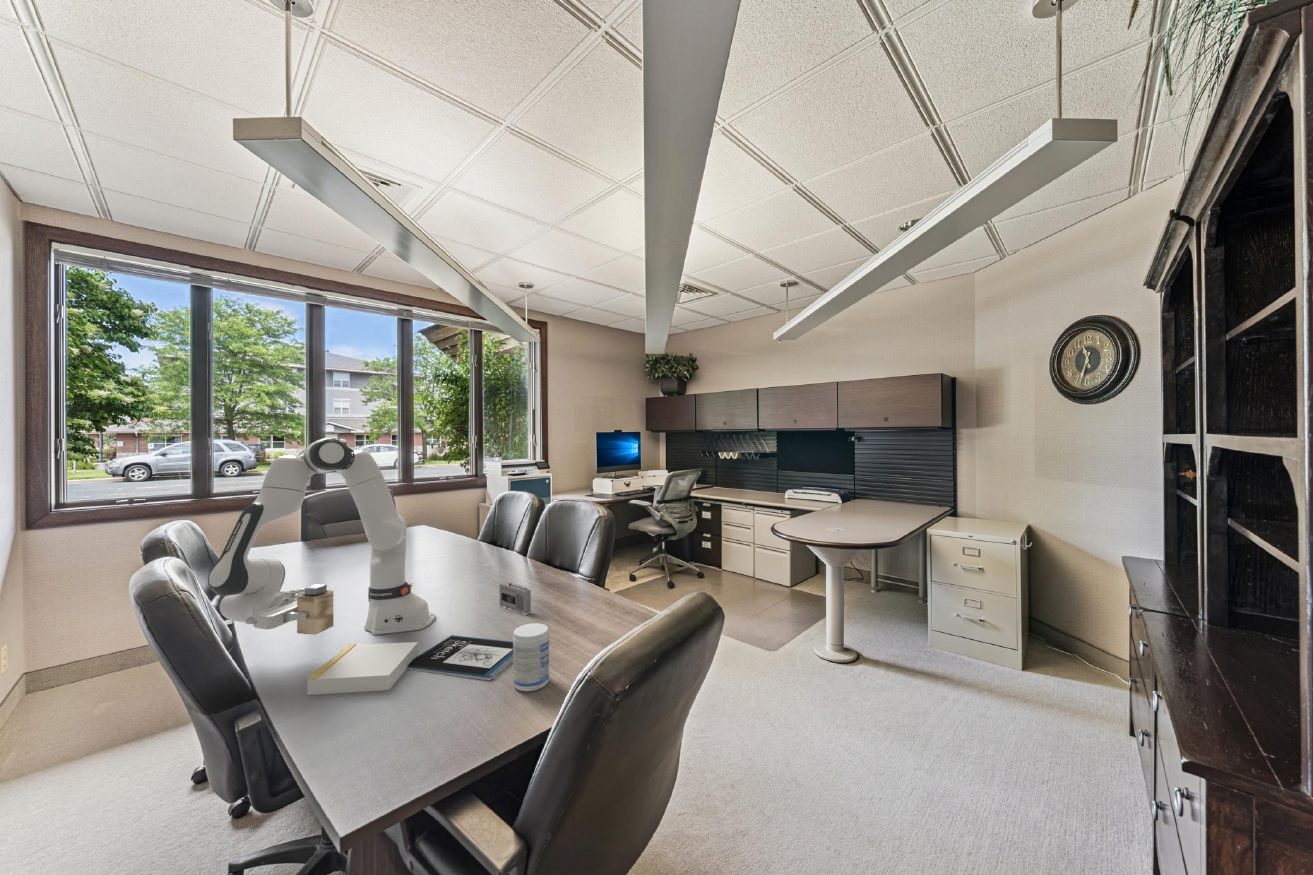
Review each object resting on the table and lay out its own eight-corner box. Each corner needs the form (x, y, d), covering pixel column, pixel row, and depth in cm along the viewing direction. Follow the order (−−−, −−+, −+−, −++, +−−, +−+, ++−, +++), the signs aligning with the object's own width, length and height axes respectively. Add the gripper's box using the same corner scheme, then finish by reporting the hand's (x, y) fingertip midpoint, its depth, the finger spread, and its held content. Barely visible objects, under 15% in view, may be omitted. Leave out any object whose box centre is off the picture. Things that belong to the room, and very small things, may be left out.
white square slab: (418, 654, 143) (418, 640, 143) (389, 690, 123) (389, 673, 123) (348, 658, 141) (348, 644, 141) (307, 695, 121) (307, 678, 121)
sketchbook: (451, 639, 156) (451, 633, 156) (532, 648, 148) (532, 642, 148) (401, 670, 135) (401, 662, 135) (493, 683, 128) (493, 675, 128)
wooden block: (315, 624, 138) (315, 589, 138) (333, 626, 137) (333, 590, 137) (297, 633, 132) (297, 596, 132) (315, 634, 131) (315, 597, 131)
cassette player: (499, 606, 184) (499, 581, 184) (505, 604, 186) (505, 579, 186) (524, 615, 175) (524, 589, 175) (530, 613, 177) (530, 587, 177)
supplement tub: (549, 690, 123) (549, 635, 123) (511, 695, 121) (511, 638, 121) (549, 672, 132) (549, 621, 132) (514, 676, 130) (514, 624, 130)
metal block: (315, 596, 136) (315, 583, 136) (326, 596, 136) (326, 584, 136) (304, 600, 133) (304, 587, 133) (315, 601, 132) (315, 588, 132)
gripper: (240, 610, 126) (284, 613, 124) (307, 586, 146) (346, 588, 144) (240, 633, 126) (284, 637, 124) (307, 606, 146) (346, 608, 144)
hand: (318, 610), depth 134 cm, fingers closed on wooden block, 6 cm apart
